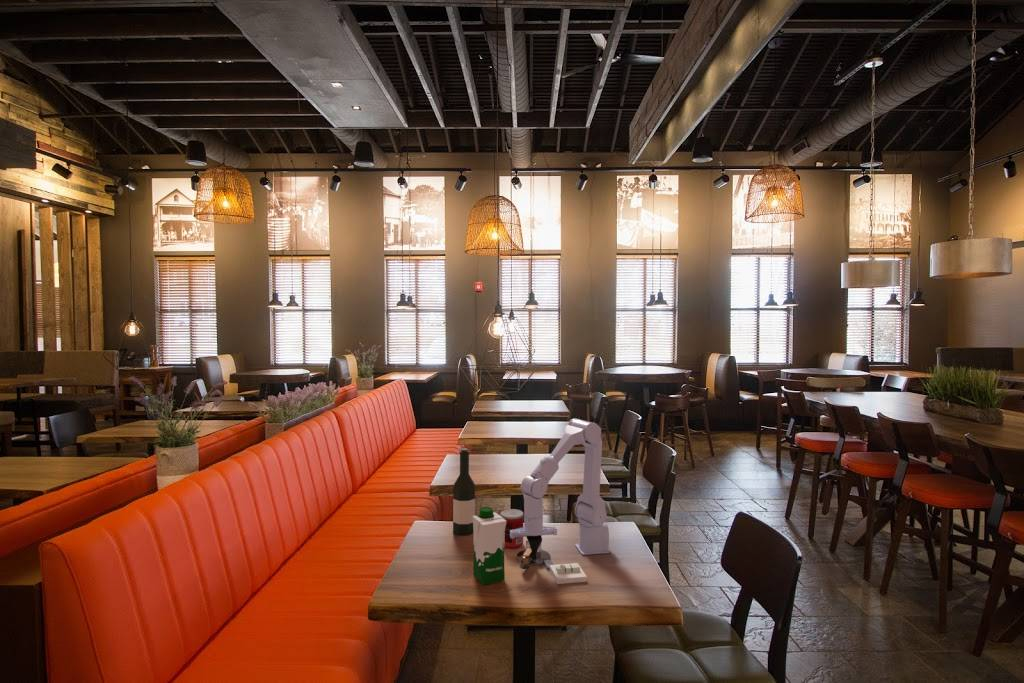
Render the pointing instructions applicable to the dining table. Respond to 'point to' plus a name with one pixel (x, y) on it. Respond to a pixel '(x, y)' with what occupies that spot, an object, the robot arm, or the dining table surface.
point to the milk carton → (488, 546)
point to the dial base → (538, 559)
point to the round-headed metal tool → (528, 556)
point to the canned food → (512, 527)
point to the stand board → (567, 573)
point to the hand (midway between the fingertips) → (533, 558)
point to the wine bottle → (463, 498)
